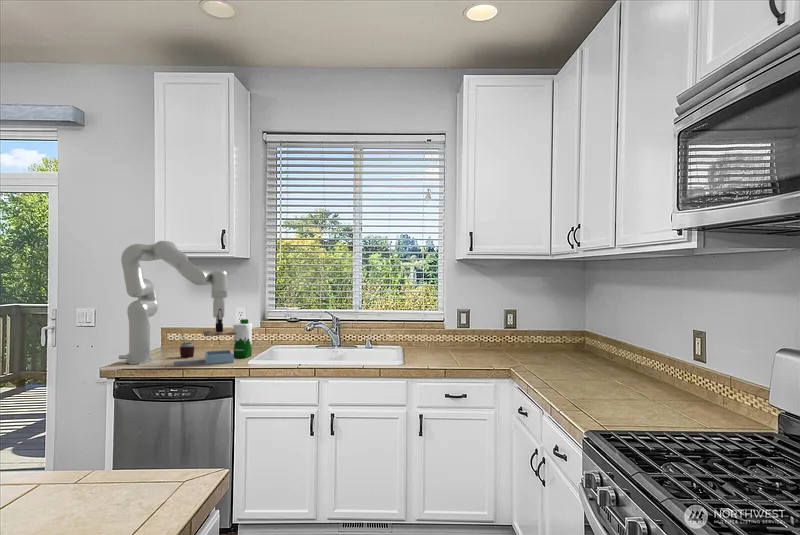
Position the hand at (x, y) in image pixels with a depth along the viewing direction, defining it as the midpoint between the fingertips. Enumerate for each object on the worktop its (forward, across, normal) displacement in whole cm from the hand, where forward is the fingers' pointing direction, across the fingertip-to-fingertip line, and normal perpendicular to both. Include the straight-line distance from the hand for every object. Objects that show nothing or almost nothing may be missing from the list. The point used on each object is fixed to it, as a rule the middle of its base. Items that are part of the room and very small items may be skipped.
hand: (219, 330), depth 261 cm
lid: (+1, 0, 0) cm, 1 cm away
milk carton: (+16, -12, +13) cm, 24 cm away
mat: (+16, -1, -14) cm, 21 cm away
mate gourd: (+16, -19, -15) cm, 29 cm away
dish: (+16, 0, 0) cm, 16 cm away
